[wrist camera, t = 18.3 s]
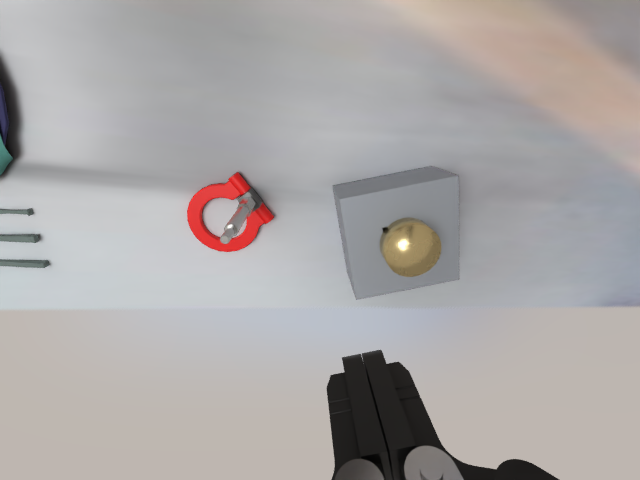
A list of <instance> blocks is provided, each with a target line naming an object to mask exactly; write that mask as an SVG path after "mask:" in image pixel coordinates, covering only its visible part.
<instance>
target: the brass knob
mask: <svg viewBox="0 0 640 480" xmlns="http://www.w3.org/2000/svg"><path fill="white" fill-rule="evenodd" d="M382 229H383V233H382V235H381V238H380V244H379V245H380V251H381V254H382V256H383V258H384V259H385V261H386V262H387V264H388V266H389V267H390V268H391V270H392V271H393V272H395V273H396V274H398V275H401V276H404V277H415V276H419V275H422V274H424V273H426V272H427V271H429V270H430V269H431V268H432V267H433V266H434V265H435V264H436V263H437V261H438V259H439V257H440V254H441V241H440V238H439V236H438V235H437V234H436V232H435V231H433V230H432V229H431V228H430V227H429V226H427V225H426V224H425V223H424V222H422V221H421V220H419V219H416V218H411V217H407V218H401V219H398V220H396V221H394V222H393V223H391V224H390V225H389V226H388V227H384V228H382Z"/></svg>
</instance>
